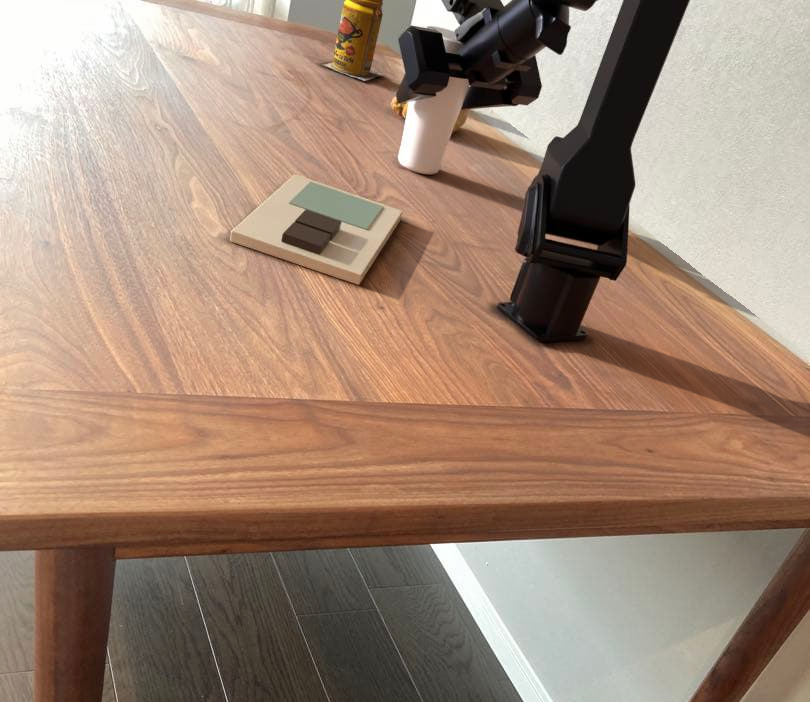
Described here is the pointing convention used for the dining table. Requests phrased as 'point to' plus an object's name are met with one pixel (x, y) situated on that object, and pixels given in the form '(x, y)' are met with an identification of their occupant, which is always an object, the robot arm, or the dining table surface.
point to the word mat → (319, 228)
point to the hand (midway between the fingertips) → (427, 102)
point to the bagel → (402, 108)
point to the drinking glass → (432, 120)
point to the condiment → (357, 38)
